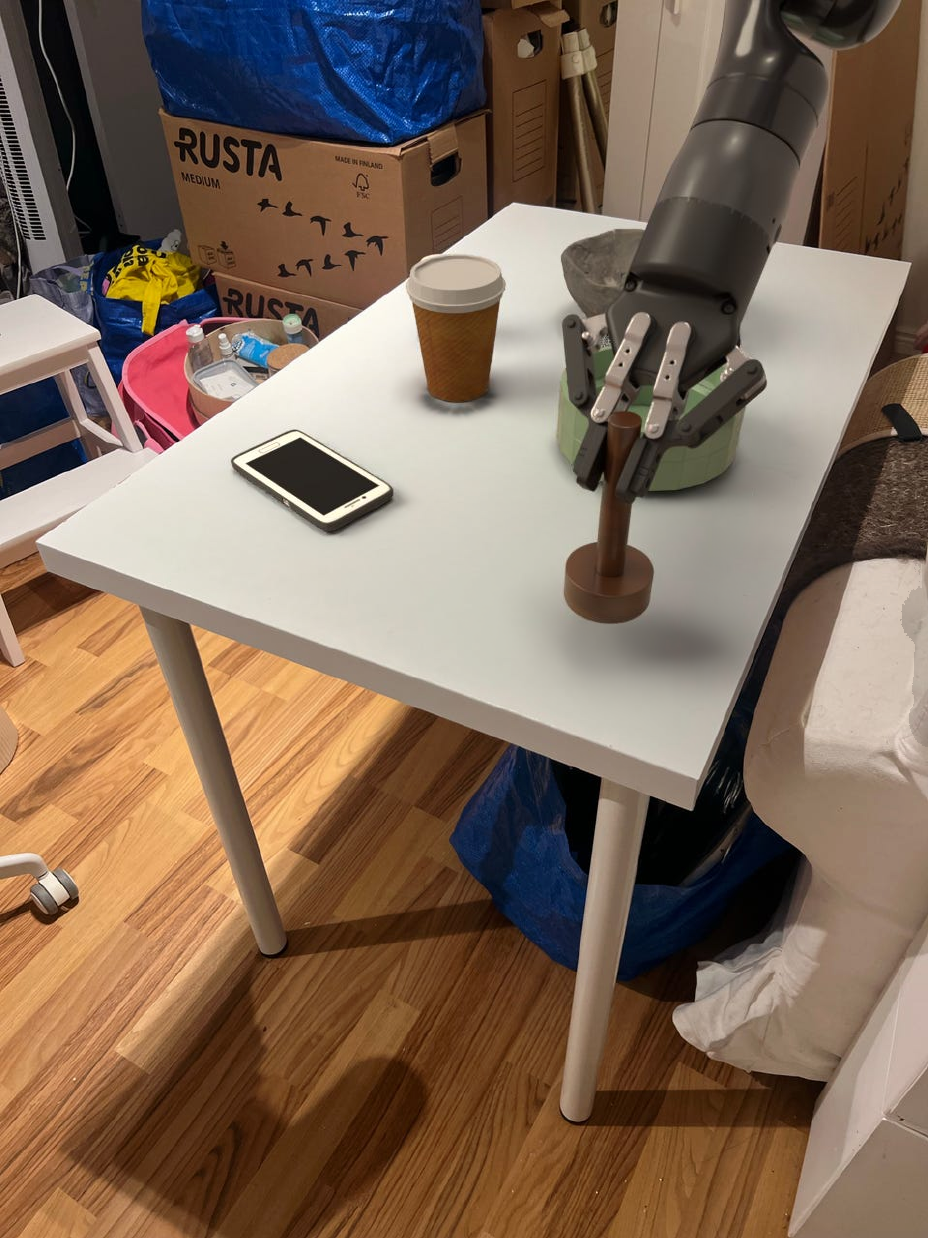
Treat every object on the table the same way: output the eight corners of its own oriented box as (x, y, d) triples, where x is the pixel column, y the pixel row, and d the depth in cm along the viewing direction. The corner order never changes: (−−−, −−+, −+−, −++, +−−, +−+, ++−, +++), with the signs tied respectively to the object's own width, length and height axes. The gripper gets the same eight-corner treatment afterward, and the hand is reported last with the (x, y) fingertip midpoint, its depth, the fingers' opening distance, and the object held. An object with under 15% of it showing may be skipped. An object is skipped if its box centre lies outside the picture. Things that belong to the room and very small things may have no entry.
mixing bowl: (738, 414, 89) (751, 352, 85) (728, 510, 78) (742, 443, 73) (574, 395, 92) (578, 334, 88) (541, 483, 81) (544, 419, 77)
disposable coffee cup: (480, 358, 99) (480, 245, 90) (520, 397, 92) (523, 280, 84) (398, 376, 96) (390, 262, 88) (433, 418, 89) (427, 299, 81)
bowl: (751, 336, 101) (766, 264, 96) (620, 374, 95) (628, 300, 90) (652, 279, 113) (660, 212, 108) (530, 310, 107) (533, 241, 102)
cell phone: (296, 435, 87) (295, 426, 87) (398, 497, 80) (397, 488, 79) (228, 467, 83) (226, 458, 83) (328, 536, 76) (326, 527, 75)
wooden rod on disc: (654, 575, 66) (681, 400, 56) (644, 630, 61) (670, 451, 52) (572, 562, 67) (584, 389, 57) (556, 616, 63) (566, 438, 53)
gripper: (593, 174, 55) (485, 445, 56) (823, 214, 49) (699, 515, 50) (624, 236, 62) (528, 476, 62) (830, 277, 56) (720, 541, 57)
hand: (604, 492), depth 56 cm, fingers closed on wooden rod on disc
